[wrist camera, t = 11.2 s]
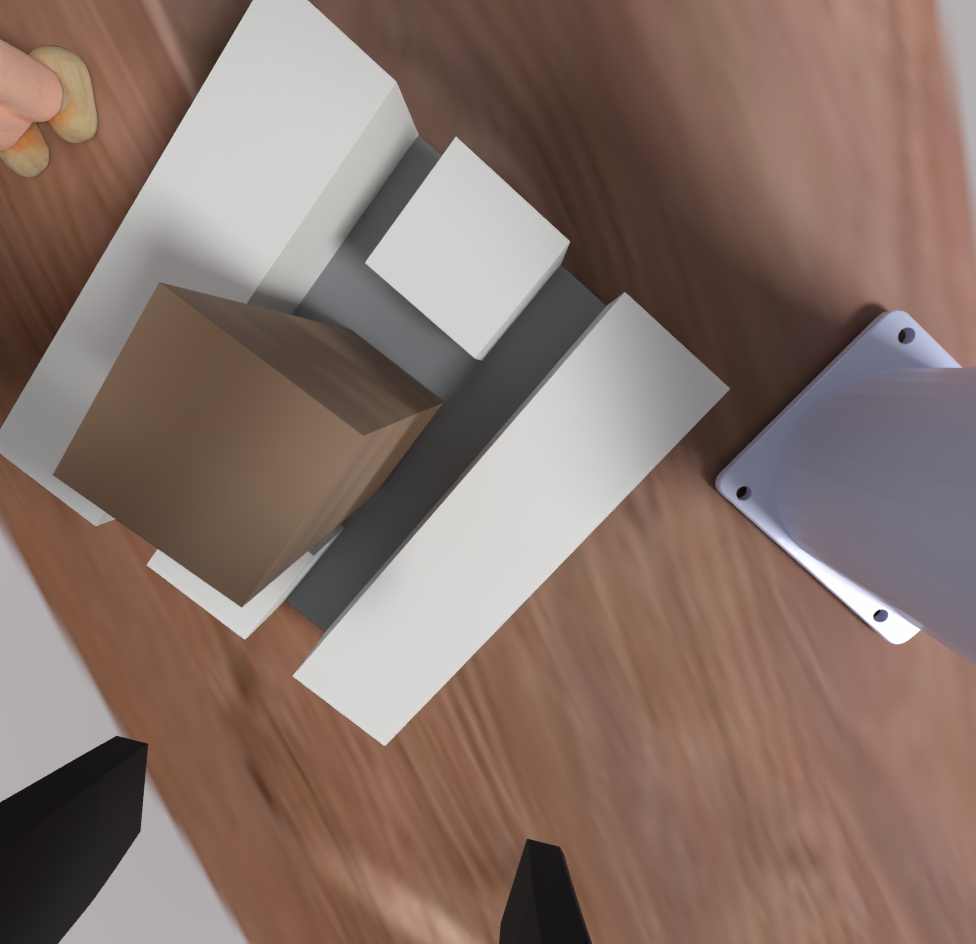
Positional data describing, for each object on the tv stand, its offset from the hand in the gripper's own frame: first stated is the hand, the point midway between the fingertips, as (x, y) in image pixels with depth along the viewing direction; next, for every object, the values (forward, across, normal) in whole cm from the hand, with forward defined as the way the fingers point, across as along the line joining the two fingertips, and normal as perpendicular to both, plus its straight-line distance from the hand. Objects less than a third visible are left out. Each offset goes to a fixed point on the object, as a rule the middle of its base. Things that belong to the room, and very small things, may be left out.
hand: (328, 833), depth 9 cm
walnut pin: (+10, +4, -6) cm, 12 cm away
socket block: (+10, +4, -6) cm, 13 cm away
